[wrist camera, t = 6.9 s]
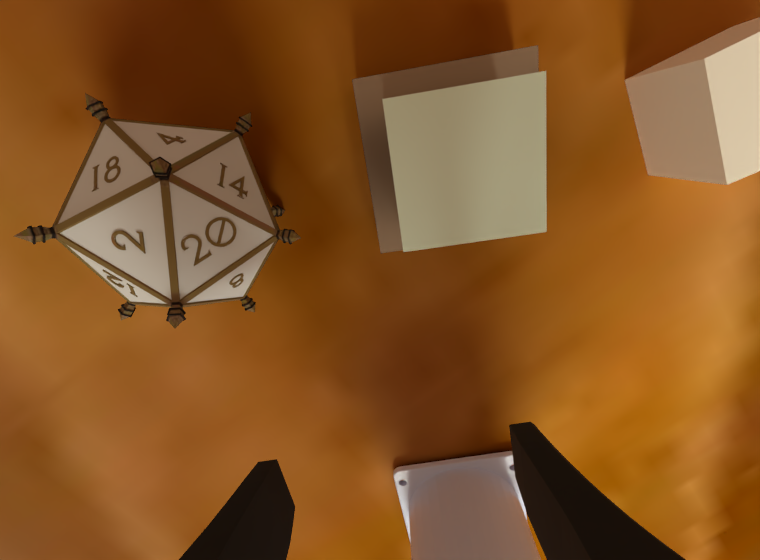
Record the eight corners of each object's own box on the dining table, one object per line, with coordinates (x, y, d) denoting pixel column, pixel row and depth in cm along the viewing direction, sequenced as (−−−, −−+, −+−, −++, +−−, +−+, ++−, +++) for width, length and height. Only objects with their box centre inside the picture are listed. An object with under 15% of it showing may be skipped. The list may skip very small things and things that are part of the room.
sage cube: (504, 207, 16) (546, 231, 12) (399, 223, 16) (403, 252, 12) (500, 91, 14) (546, 70, 10) (384, 111, 15) (382, 99, 11)
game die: (252, 160, 22) (260, 12, 12) (307, 297, 21) (358, 251, 12) (68, 199, 18) (-112, 36, 9) (130, 364, 18) (7, 372, 9)
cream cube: (747, 129, 17) (864, 125, 13) (647, 174, 18) (727, 184, 14) (731, 26, 16) (856, -16, 12) (623, 80, 17) (704, 58, 12)
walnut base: (518, 216, 19) (540, 229, 16) (381, 237, 20) (380, 253, 17) (512, 61, 17) (538, 45, 14) (357, 89, 17) (352, 79, 14)
